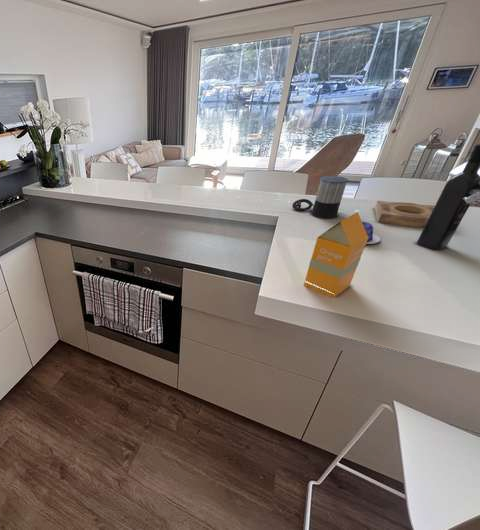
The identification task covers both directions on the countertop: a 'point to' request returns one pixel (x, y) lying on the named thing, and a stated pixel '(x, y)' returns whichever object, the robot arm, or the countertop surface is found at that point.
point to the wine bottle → (451, 205)
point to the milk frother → (325, 197)
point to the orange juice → (337, 256)
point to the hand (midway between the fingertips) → (454, 196)
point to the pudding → (370, 233)
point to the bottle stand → (403, 213)
